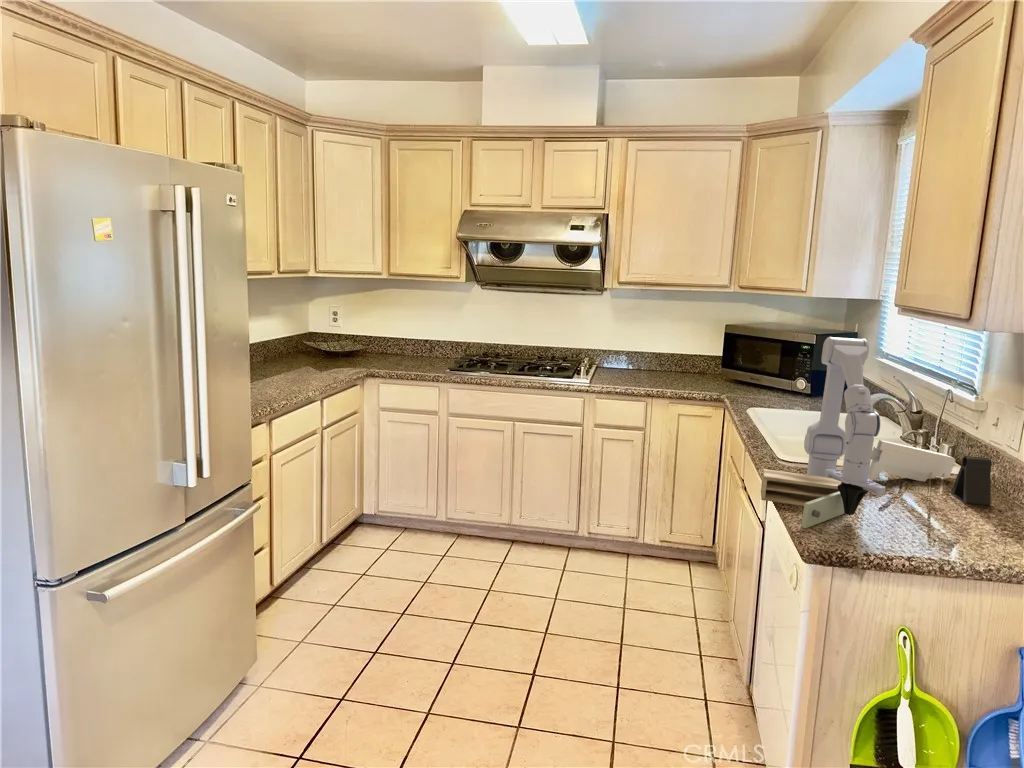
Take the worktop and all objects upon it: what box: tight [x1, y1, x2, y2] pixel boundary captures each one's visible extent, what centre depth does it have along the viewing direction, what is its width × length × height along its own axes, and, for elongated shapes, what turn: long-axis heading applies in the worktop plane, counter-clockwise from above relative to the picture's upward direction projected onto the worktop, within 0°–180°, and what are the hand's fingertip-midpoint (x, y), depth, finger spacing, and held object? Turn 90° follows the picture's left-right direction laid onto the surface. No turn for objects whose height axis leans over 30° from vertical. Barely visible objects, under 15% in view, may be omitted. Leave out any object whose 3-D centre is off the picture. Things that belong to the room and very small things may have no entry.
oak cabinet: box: [760, 468, 841, 507], centre depth 176 cm, size 7×20×6 cm, turn 71°
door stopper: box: [950, 455, 992, 507], centre depth 183 cm, size 9×6×12 cm, turn 170°
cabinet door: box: [801, 492, 845, 529], centre depth 163 cm, size 2×20×6 cm, turn 127°
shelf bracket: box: [868, 439, 956, 482], centre depth 198 cm, size 6×25×13 cm, turn 99°
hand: (849, 513), depth 163 cm, fingers closed
